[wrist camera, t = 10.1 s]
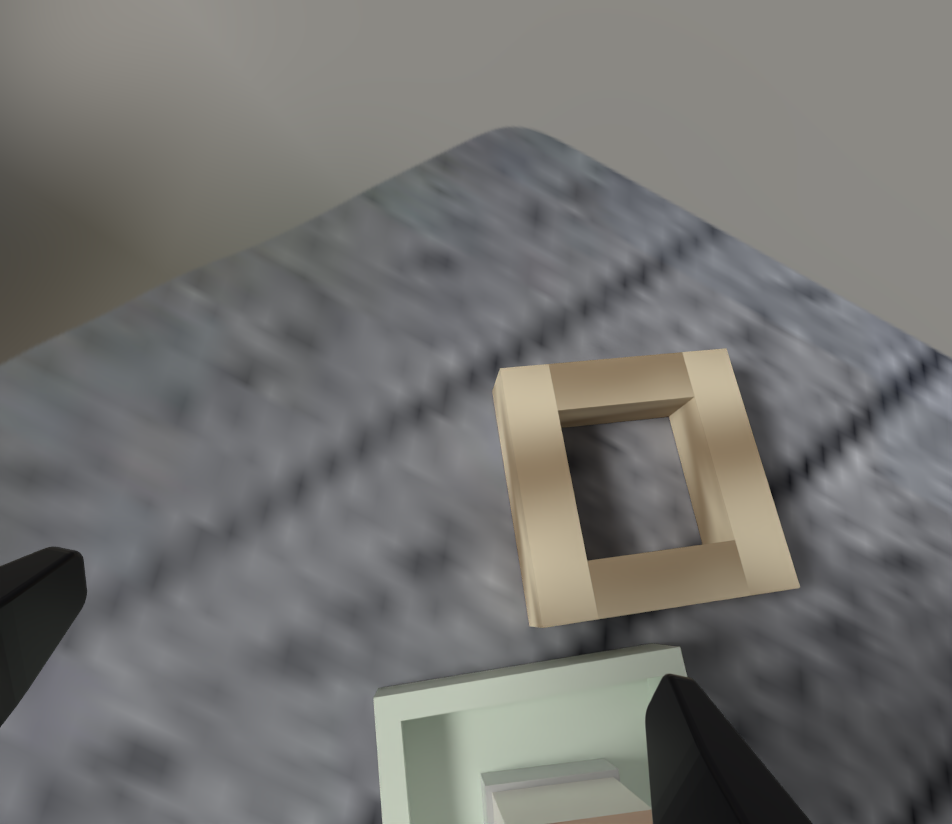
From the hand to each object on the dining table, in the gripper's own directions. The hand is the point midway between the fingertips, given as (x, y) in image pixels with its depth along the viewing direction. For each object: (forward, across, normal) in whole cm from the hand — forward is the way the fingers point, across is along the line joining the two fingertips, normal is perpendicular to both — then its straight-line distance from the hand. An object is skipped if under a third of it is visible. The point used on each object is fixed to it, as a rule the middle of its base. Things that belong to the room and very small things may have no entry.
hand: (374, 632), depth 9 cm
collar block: (+15, -8, +5) cm, 17 cm away
